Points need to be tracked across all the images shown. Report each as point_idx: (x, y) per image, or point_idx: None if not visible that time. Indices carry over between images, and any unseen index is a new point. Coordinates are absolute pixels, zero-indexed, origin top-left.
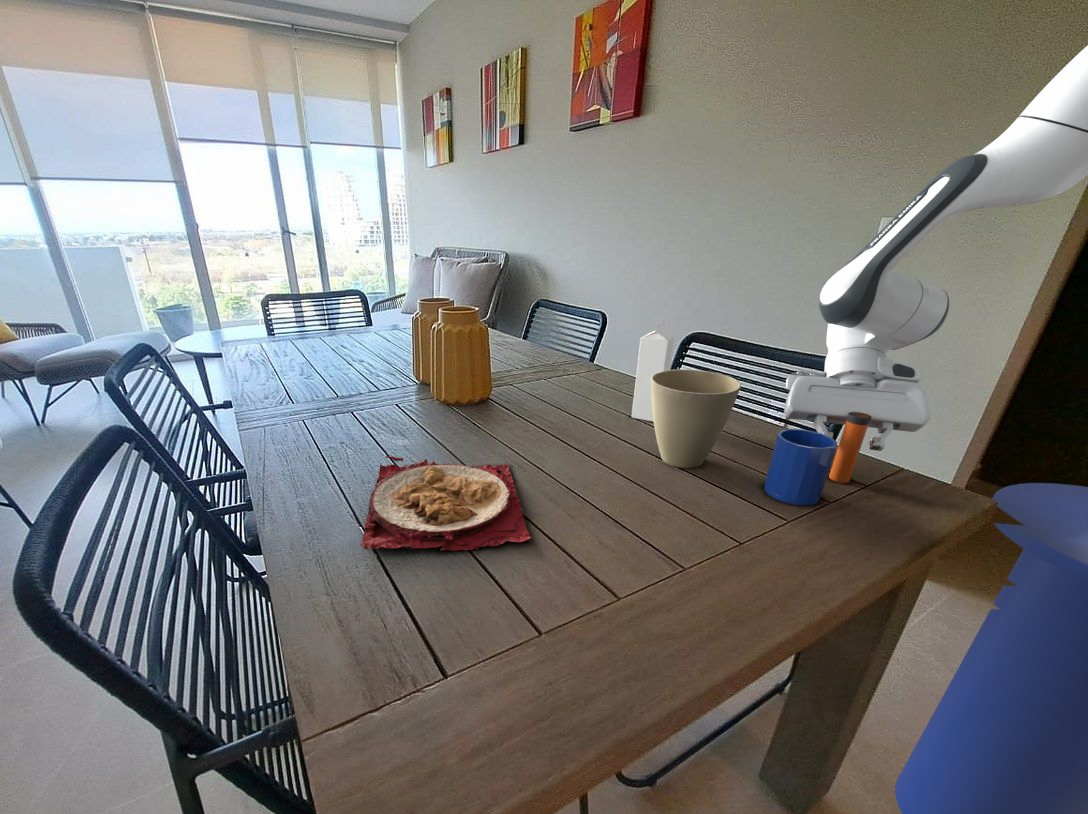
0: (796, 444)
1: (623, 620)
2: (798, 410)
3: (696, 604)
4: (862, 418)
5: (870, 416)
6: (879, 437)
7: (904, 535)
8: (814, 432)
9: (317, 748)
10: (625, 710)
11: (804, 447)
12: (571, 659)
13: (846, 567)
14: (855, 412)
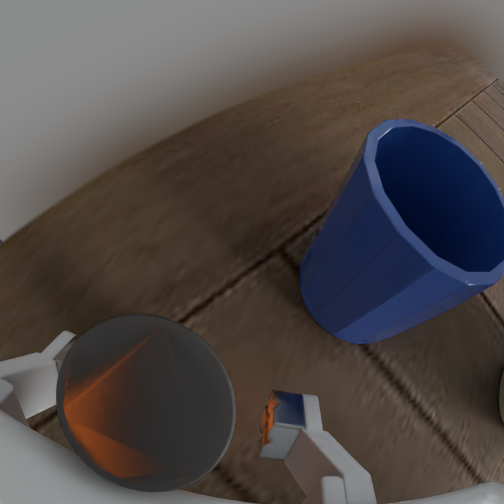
0: (465, 150)
1: (461, 86)
2: (482, 484)
3: (434, 85)
4: (158, 319)
5: (67, 367)
6: (52, 373)
7: (191, 150)
8: (432, 251)
9: (494, 75)
10: (435, 55)
11: (446, 134)
12: (465, 76)
13: (318, 95)
14: (144, 475)
